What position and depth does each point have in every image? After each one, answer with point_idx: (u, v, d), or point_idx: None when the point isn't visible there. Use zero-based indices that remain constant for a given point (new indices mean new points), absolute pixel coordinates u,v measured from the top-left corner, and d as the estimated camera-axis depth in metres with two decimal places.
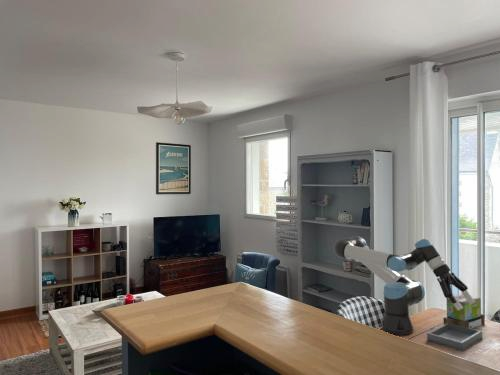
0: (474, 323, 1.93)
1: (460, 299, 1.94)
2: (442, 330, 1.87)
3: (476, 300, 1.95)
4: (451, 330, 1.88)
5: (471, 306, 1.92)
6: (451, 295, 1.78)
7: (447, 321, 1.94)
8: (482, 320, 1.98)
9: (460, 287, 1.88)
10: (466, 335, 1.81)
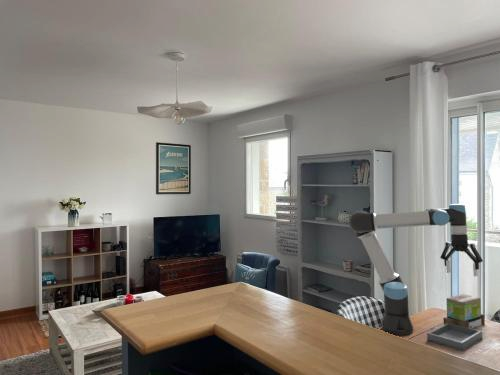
0: (474, 323, 1.93)
1: (460, 299, 1.94)
2: (442, 330, 1.87)
3: (476, 300, 1.95)
4: (451, 330, 1.88)
5: (471, 306, 1.92)
6: None
7: (447, 321, 1.94)
8: (482, 320, 1.98)
9: (449, 256, 2.02)
10: (466, 335, 1.81)
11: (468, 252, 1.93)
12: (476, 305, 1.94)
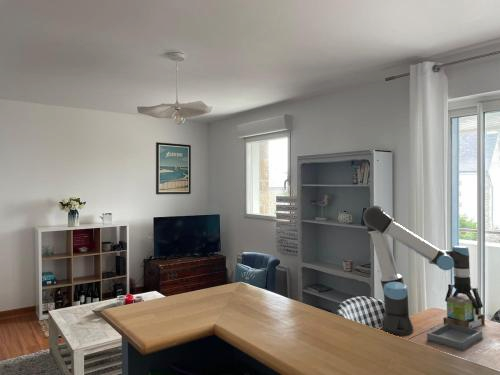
0: (475, 322, 1.93)
1: (460, 299, 1.94)
2: (442, 330, 1.87)
3: None
4: (451, 330, 1.88)
5: (471, 306, 1.92)
6: (478, 307, 1.92)
7: (447, 321, 1.94)
8: (482, 320, 1.98)
9: None
10: (466, 335, 1.81)
11: (470, 296, 1.93)
12: None
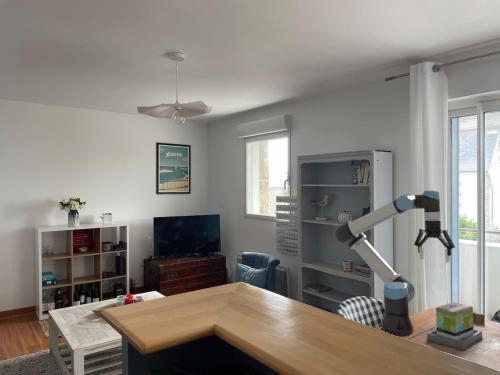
0: (466, 334, 1.76)
1: (451, 308, 1.76)
2: None
3: (468, 309, 1.77)
4: None
5: (463, 316, 1.75)
6: (451, 248, 1.91)
7: None
8: (482, 320, 1.98)
9: (423, 243, 2.01)
10: None
11: (441, 238, 1.92)
12: (468, 315, 1.77)
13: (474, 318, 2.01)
